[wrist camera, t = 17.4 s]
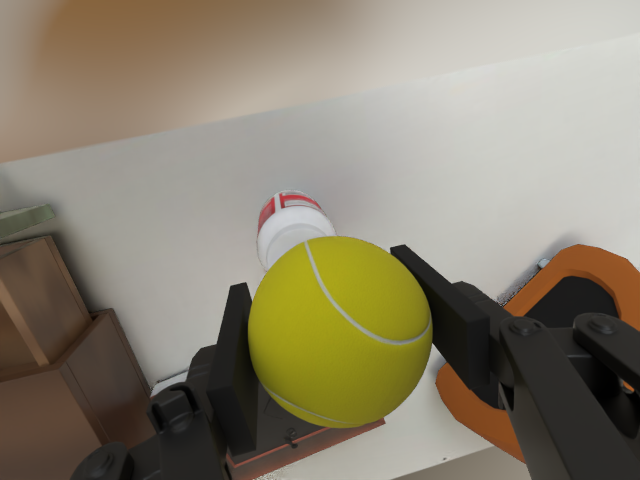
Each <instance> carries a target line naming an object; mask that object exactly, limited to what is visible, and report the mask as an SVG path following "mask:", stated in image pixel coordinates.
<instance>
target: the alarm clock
mask: <svg viewBox="0 0 640 480" xmlns="http://www.w3.org/2000/svg"><path fill="white" fill-rule="evenodd" d="M538 265H539V266H540V267H541V268H542V269H541V270H540V271H539V272H538V273H537V274H536V275H535V276H534V277H533V278H532V279H531V280H530V281H529V282H528V283H527V284H526V285H525V286H524V287H523V288H522V289H521V290H520V291H519V292H518V293H517V294H516V295H515V296H514V297H513V298H512V299H511V300H510V301H509V302H508V303H507V304H506V305H505V306H504V307H503V308H504V309H505V310H507V311H508V312H509V313H511V314H512V315H513V316H523V317H528V318H532V319H535V320H537V321H539V322H541V323H542V324H544V325H545V326H546V327H547V328H569V327H573V325H574V319H575V318H576V317H577V315H580V314H583V313H602V314H606V315H610V316H613V317H616V318H618V319H620V320H622V321H624V322H626V323H627V324H629V325H630V326H632V327H634V328H635V329H637V330H638V331H640V272H639V271H638V270H637V269H636V268H635V267H634V266H633V265H632V264H631V263H630V262H629V261H628V259H626V258H623V257H621V256H618V255H616V254H613V253H611V252H608V251H606V250H603V249H601V248H598V247H592V246H586V245H580V244H577V245H574V246H571V247H568V248H565V249H562V250H561V251H560V252H559V253H558V254H557V255H556V256H555V257H554V258H553V259H552V260H545V259H542V260H541V261H540V262H539V263H538ZM435 384H436V386H437V389H438V391H439V394H440V397H441V399H442V401H443V402H444V404H445V405H446V407H447V408H448V409H449V411H450V412H451V414H452V415H453V416H454V418H455V419H456V420H457V421H458V422H460V423H462V424H463V425H465V426H466V427H468V428H469V429H471V430H472V431H474V432H475V433H477V434H478V435H480V436H481V437H483V438H484V439H486V440H488V441H489V442H491V443H492V444H494V445H495V446H497V447H499V448H500V449H502V450H503V451H505V452H507V453H508V454H510V455H512V456H513V457H515V458H516V459H518V460H520V461H521V462H523V463H525V460H524V457H523V454H522V452H521V449H520V446H519V444H518V441H517V438H516V435H515V433H514V430H513V427H512V425H511V422H510V419H509V416H508V414H507V411H506V408H505V406H504V403H503V409H499V379H498V378H497V377H496V376H495V375H494V374H493V373H492V372H491V371H490V384H489V385H486V386H482V387H478V388H475V389H471V390H469V389H468V388H467V387H466V386H465V384H464V383H463V382H462V380H461V379H460V378H459V376H458V375H457V374H456V373H455V371H454V370H453V369H452V367H451V366H450V365H449V364H448V362H447V363H446V364H445V365H444V366H443V367H442V368H441V369H440V370H439V371H438V375H437V379H436V383H435ZM623 384H624V385H625V386H626V387H627V388H628V389H630V390H631V391H634V389H633V388H632V387H631V386H630V385H628V384H627V383H626V382H625V381H623ZM525 464H526V463H525Z"/></svg>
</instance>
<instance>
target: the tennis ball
mask: <svg viewBox="0 0 640 480" xmlns="http://www.w3.org/2000/svg"><path fill="white" fill-rule="evenodd" d="M432 338H433V324H432V316H431V311H430V308H429V304H428V301H427V298H426V296H425V294H424V292H423V290H422V288H421V287H420V285H419V283H418V282H417V280H416V279H415V278H414V276H413V275H412V274H411V273H410V271H409V270H408V269H407V268H406V267H405V266H404V265H403V264H402V263H401V262H400V261H399V260H398V259H396V258H395V257H394V256H392V255H391V254H390V253H388V252H387V251H385V250H383V249H382V248H380V247H378V246H376V245H374V244H371V243H368V242H366V241H363V240H359V239H356V238H350V237H342V236H326V237H318V238H313V239H309V240H307V241H305V242H302V243H300V244H298V245H296V246H294V247H293V248H291V249H290V250H289V251H287V252H286V253H285V254H284V255H282V256H281V257H280V258H279V259H278V260H277V261H276V262H275V263H274V264H273V265H272V267H271V268H270V269H269V270H268V272H267V273H266V275H265V276H264V278H263V280H262V281H261V283H260V285H259V287H258V289H257V291H256V294H255V296H254V299H253V302H252V306H251V310H250V315H249V321H248V344H249V352H250V357H251V361H252V365H253V368H254V370H255V373H256V375H257V377H258V378H259V380H260V382H261V384H262V385H263V387H264V388H265V390H266V391H267V392H268V393H269V395H270V396H271V397H272V398H273V399H274V400H275V401H276V402H277V403H278V404H279V405H280V406H281V407H283V408H284V409H285V410H287V411H288V412H290V413H292V414H293V415H295V416H297V417H299V418H301V419H303V420H305V421H307V422H310V423H313V424H316V425H319V426H325V427H331V428H352V427H359V426H362V425H364V424H366V423H371V422H375V421H377V420H379V419H381V418H383V417H385V416H386V415H388V414H389V413H391V412H392V411H393V410H395V409H396V408H397V407H398V406H399V405H400V404H402V403H403V402H404V401H405V399H406V398H407V397H408V396H409V395H410V394H411V393H412V391H413V390H414V389H415V387H416V386H417V384H418V382H419V380H420V379H421V377H422V375H423V373H424V370H425V368H426V365H427V362H428V359H429V355H430V351H431V346H432Z"/></svg>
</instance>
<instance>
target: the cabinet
mask: <svg viewBox="0 0 640 480" xmlns="http://www.w3.org/2000/svg"><path fill="white" fill-rule="evenodd" d="M89 315H90V317H91V319H92V321H93V322H92V323H91V324H90V326H89V327H88V328H87V329H86V330H85V331H84V332H83V333H82V334H81V335H80V336H79V337H78V338H77V340H76V341H75V342H74V343H73V344H72V345H71V346H70V347H69V348H68V349H67V350H66V351H65V352H64V354H63V355H62V356H61V357H60V358H59V359H58V360H57V361H56V362H55V363H54V364H52V365H48V366H43V367H39V368H35V369H31V370H26V371H22V372H18V373H14V374H9V375H5V376H1V377H0V480H70V478H71V476H72V474H73V473H74V471H75V469H76V468H77V466H78V465H79V464H80V463H81V462H82V461H83V460H84V459H85V458H86V457H87V456H88V455H89V454H91V453H92V452H93V451H95V450H96V449H97V448H99V447H101V446H103V445H105V444H107V443H112V442H116V441H117V442H122V443H124V445H125V446H126V447H127V449H130V448H132V447H134V446H136V445H138V444H140V443H142V442H143V441H145V440H147V439H149V438H151V437H152V436H154V435H155V434H157V433H156V431H155V429H154V427H153V425H152V423H151V422H150V420H149V418H148V416H147V414H146V411H147V406H148V404H149V403H150V401H151V398H150V396H151V391H150V389H149V387H148V384H147V382H146V380H145V378H144V376H143V374H142V371H141V369H140V367H139V365H138V363H137V360H136V358H135V356H134V354H133V352H132V350H131V347H130V345H129V343H128V341H127V339H126V336H125V334H124V332H123V330H122V328H121V326H120V323H119V321H118V319H117V317H116V315H115V312H114V310H113V309H112V308H111V309H107V310H102V311H98V312H93V313H89Z"/></svg>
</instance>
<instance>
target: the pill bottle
mask: <svg viewBox="0 0 640 480" xmlns="http://www.w3.org/2000/svg"><path fill="white" fill-rule="evenodd" d="M326 236H336V232H335V230H334V227H333V225H332V224H331V222H330V221H329V219H328V218H327V216H326V215H325V214H324V212H323V211H322V209H321V208H320V207H319V205H318V204H317V203H316V201H315V200H314V199H313V198H312V197H310V196H309V195H307V194H306V193H304V192H301V191H296V190H286V191H282V192H279V193H277V194H275V195H273V196H272V197H270V198H269V199H268V200H267V201H266V203H265V204H264V206H263V207H262V210H261V212H260V216H259V225H258V236H257V252H258V256H259V259H260V262H261V264H262V265H263V267H264V268H265V270H266V271H267V272H268V270H269V269H270V268H271V267H272V265H273V264H274V263H275V262H276V261H277V260H278V259H279V258H280V257H281V256H282V255H284V254H285V253H286V252H287V251H289V250H290V249H291V248H293V247H294V246H296V245H298V244H300V243H302V242H305V241H307V240H309V239H313V238H318V237H326Z"/></svg>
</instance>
